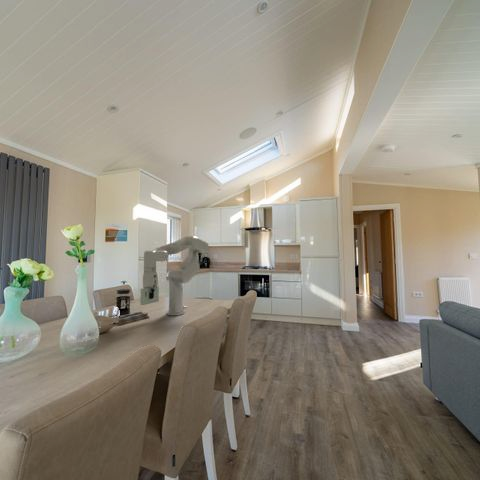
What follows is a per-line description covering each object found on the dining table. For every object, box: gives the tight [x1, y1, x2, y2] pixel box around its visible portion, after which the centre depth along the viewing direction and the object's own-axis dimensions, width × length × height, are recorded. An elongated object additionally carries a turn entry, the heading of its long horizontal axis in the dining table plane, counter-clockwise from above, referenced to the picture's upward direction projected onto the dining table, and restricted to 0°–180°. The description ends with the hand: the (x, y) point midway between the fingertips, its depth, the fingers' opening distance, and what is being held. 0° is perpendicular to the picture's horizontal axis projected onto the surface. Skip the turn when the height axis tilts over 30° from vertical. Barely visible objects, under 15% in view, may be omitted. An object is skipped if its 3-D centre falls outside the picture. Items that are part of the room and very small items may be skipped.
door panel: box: [139, 285, 160, 306], centre depth 157 cm, size 12×3×10 cm, turn 148°
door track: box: [115, 310, 150, 326], centre depth 157 cm, size 20×11×3 cm, turn 148°
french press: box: [115, 280, 131, 316], centre depth 170 cm, size 12×9×23 cm
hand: (149, 298), depth 157 cm, fingers closed on door panel, 2 cm apart
